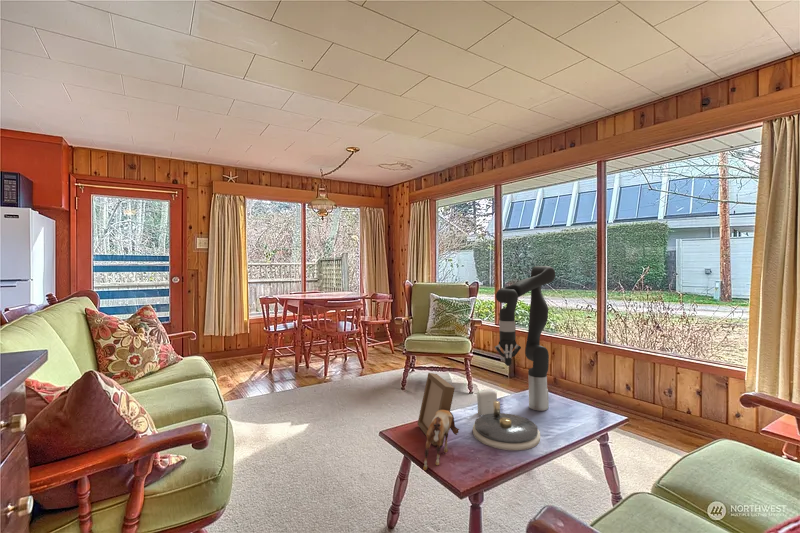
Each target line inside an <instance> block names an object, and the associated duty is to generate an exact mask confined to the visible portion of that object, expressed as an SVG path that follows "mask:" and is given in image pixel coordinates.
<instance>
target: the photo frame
mask: <svg viewBox="0 0 800 533" xmlns="http://www.w3.org/2000/svg"><path fill="white" fill-rule="evenodd" d="M427 373H428V374H427V378H426V383H425V388H424V391H423V392H424V393H423V397H422V402H421V406H420V411H419V413H418V414H419V415H418V420H417V426H418V427H419V429H421V431H422V432H423V434H424V435H425V436H426V437H427V431H428V429H429V426H430V424H431V422H432V420H433V418H434V417H435V413H436V412H437V411H439V410H446V411H447V410H448V411H450V412H451V408H452V405H453V399H454V394H455V387H454V386H453V385H451V384H450V383H449V382H448V381H446V379H444V378H442V377H441V376H440V375H439V374H438V373H433V372H427ZM450 430H451V428H450V429H449V431H450ZM441 441H442V445H441V446H440V447H443V445H444V443H445V433H444V434H443V439H442V440H441ZM431 445H432V446H437V442H435V441H433V442H431Z"/></svg>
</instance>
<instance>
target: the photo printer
mask: <svg viewBox="0 0 800 533" xmlns="http://www.w3.org/2000/svg"><path fill="white" fill-rule="evenodd" d="M476 394H477V395H476V398H477V415H479V416H483V415H486V414H493V413H494V406H493V402H494V401H498V396H497V391H496V390H495V389H493V388H484V389H481V390H479V391H477V393H476Z"/></svg>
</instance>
